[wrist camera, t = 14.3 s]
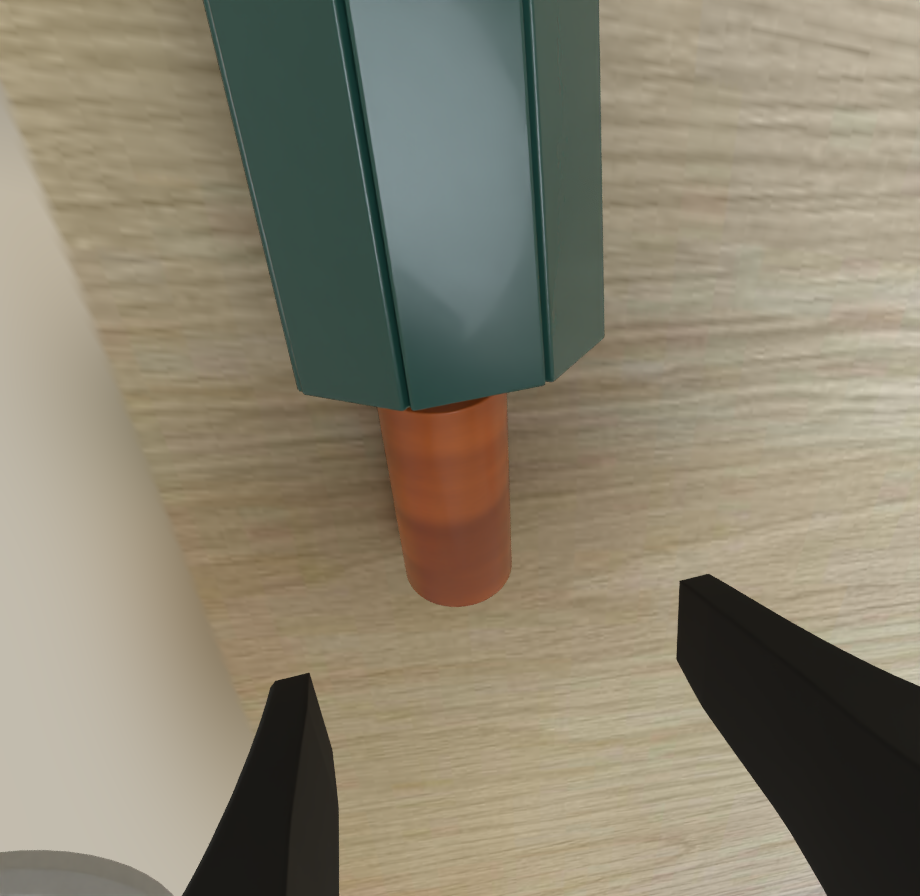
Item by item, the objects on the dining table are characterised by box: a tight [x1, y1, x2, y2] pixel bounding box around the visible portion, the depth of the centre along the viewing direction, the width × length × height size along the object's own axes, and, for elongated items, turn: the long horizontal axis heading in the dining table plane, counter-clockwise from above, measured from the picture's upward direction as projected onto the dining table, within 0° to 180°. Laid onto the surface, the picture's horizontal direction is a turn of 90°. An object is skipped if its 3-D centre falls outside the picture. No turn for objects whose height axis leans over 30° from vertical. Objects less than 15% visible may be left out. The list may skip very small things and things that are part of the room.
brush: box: [377, 393, 512, 607], centre depth 13 cm, size 15×3×3 cm, turn 7°
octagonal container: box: [203, 0, 604, 411], centre depth 11 cm, size 10×5×7 cm, turn 7°
